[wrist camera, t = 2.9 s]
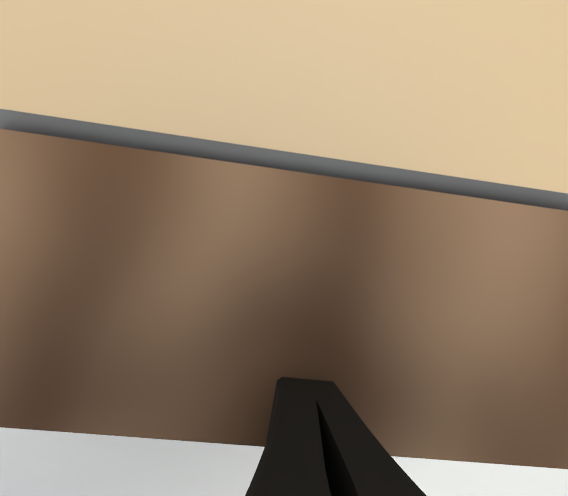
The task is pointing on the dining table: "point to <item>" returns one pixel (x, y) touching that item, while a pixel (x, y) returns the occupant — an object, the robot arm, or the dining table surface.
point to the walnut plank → (275, 303)
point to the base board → (306, 86)
